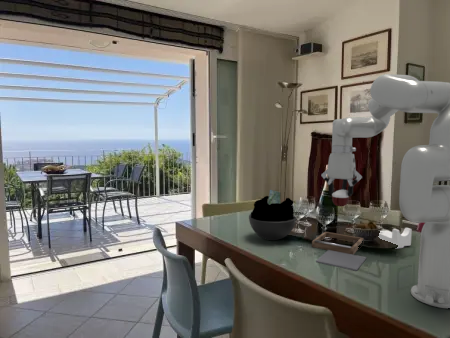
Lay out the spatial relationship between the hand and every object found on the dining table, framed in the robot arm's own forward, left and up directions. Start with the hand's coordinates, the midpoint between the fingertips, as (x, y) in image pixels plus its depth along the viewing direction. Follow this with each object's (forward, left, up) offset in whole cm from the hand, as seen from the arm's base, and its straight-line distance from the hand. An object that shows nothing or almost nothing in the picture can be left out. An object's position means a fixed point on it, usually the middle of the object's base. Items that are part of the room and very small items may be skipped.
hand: (340, 194), depth 138 cm
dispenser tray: (0, 0, -21) cm, 21 cm away
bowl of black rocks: (-8, +26, -21) cm, 35 cm away
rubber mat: (-16, -6, -21) cm, 27 cm away
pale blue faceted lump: (+25, +45, -21) cm, 55 cm away
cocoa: (0, 0, -4) cm, 5 cm away
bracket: (+17, -17, -22) cm, 32 cm away
